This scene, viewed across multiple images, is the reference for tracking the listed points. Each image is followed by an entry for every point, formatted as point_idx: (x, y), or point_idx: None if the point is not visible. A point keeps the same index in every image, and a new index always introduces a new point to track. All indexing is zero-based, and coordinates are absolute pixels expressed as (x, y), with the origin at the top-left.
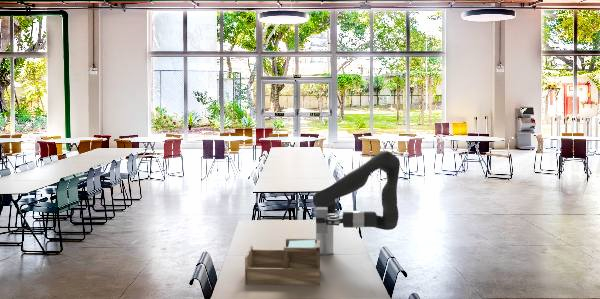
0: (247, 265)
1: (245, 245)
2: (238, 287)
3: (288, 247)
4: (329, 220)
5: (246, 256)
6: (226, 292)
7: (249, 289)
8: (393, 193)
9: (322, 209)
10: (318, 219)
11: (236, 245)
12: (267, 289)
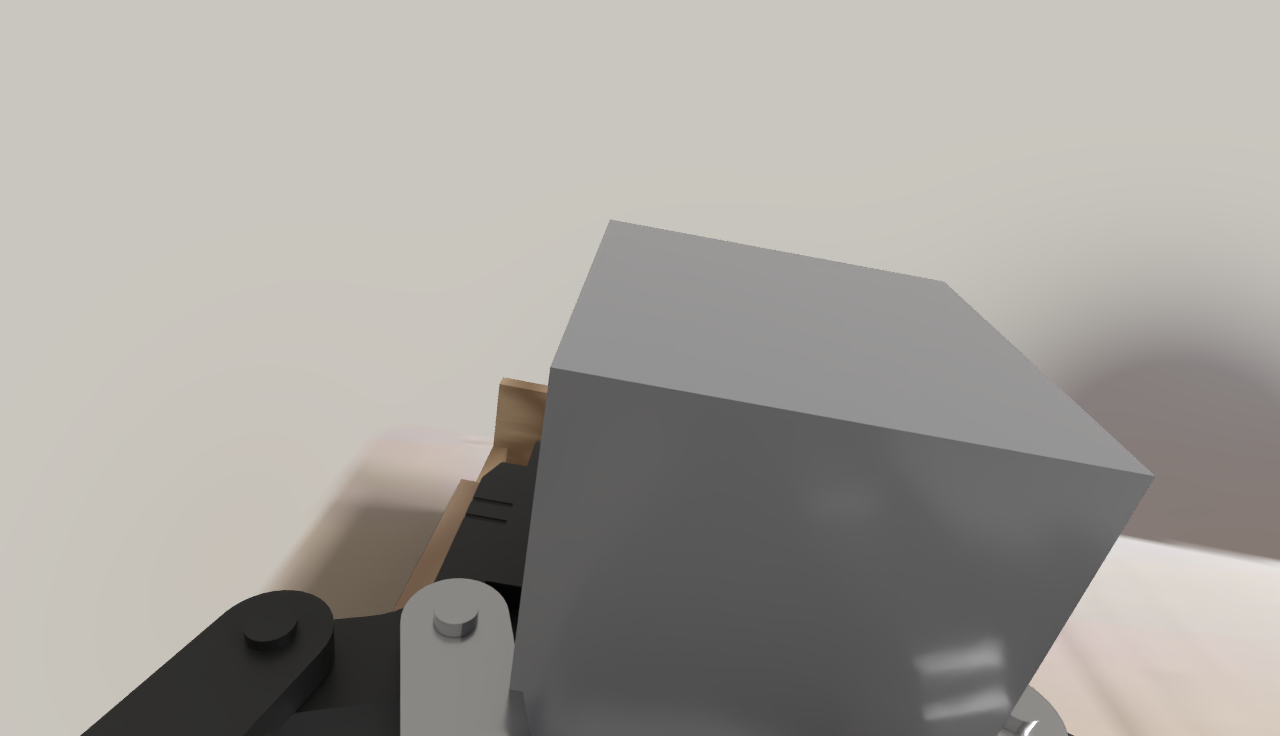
0: (504, 433)
1: (1206, 587)
2: (443, 488)
3: (462, 512)
4: (128, 729)
5: (523, 384)
6: (384, 445)
7: (388, 524)
8: None
9: (595, 278)
10: (490, 479)
11: (1168, 549)
12: (345, 605)
